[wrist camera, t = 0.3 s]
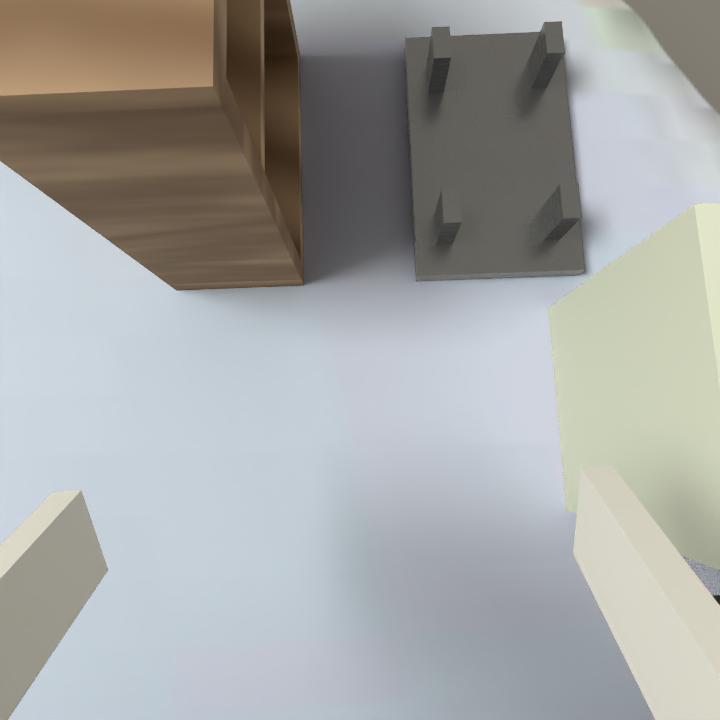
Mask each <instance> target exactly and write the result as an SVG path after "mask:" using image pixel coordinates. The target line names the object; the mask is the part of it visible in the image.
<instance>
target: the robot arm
mask: <svg viewBox="0 0 720 720" xmlns="http://www.w3.org/2000/svg"><path fill="white" fill-rule="evenodd" d="M573 555H574V557H575V559H576V561H577V563H578V565H579V567H580V569H581V571H582V573H583V575H584V577H585V579H586V581H587V583H588V585H589V587H590V589H591V591H592V593H593V595H594V597H595V599H596V601H597V603H598V605H599V607H600V609H601V611H602V613H603V615H604V617H605V619H606V621H607V623H608V625H609V627H610V629H611V631H612V633H613V635H614V637H615V640H616V642H617V644H618V646H619V648H620V650H621V652H622V654H623V656H624V658H625V660H626V662H627V664H628V666H629V668H630V670H631V672H632V674H633V676H634V678H635V680H636V682H637V684H638V686H639V688H640V690H641V692H642V694H643V696H644V698H645V700H646V702H647V704H648V706H649V708H650V710H651V712H652V714H653V716H654V718H655V720H720V595H716V596H712V595H711V594H710V592H709V591H708V590H707V588H706V587H705V586H704V584H703V583H702V582H701V581H700V579H699V578H698V577H697V575H696V574H695V573H694V571H693V570H692V569H691V568H690V566H689V565H688V564H687V562H686V561H685V560H684V558H683V557H682V556H681V555H680V553H679V552H678V551H677V549H676V548H675V547H674V545H673V544H672V543H671V542H670V540H669V539H668V538H667V536H666V535H665V534H664V532H663V531H662V530H661V529H660V527H659V526H658V525H657V523H656V522H655V521H654V519H653V518H652V517H651V516H650V514H649V513H648V512H647V510H646V509H645V508H644V506H643V505H642V504H641V502H640V501H639V500H638V499H637V497H636V496H635V495H634V493H633V492H632V491H631V489H630V488H629V487H628V486H627V484H626V483H625V482H624V480H623V479H622V478H621V476H620V475H619V474H618V473H617V471H616V470H615V469H614V467H613V466H604V467H582V468H581V476H580V486H579V496H578V507H577V517H576V528H575V538H574V549H573ZM107 571H108V568H107V565H106V562H105V559H104V556H103V553H102V550H101V547H100V544H99V541H98V539H97V536H96V533H95V530H94V527H93V524H92V521H91V518H90V515H89V512H88V509H87V506H86V503H85V500H84V497H83V494H82V491H81V490H78V491H56V492H53V493H52V494H51V495H50V496H49V497H48V498H47V499H46V500H45V501H44V502H43V503H42V504H41V505H40V506H39V507H38V508H37V509H36V510H35V511H34V512H33V513H32V514H31V515H30V516H29V517H28V518H27V519H26V520H25V521H24V522H23V523H22V524H21V525H20V526H19V527H18V528H17V529H16V530H15V531H14V532H13V533H12V534H11V535H10V536H9V537H8V538H7V539H6V540H5V541H4V542H3V543H2V544H1V545H0V720H8V719H9V717H10V716H11V714H12V713H13V711H14V710H15V708H16V707H17V705H18V704H19V702H20V701H21V699H22V698H23V696H24V695H25V693H26V692H27V690H28V689H29V687H30V686H31V684H32V683H33V681H34V680H35V678H36V677H37V675H38V674H39V672H40V671H41V669H42V668H43V666H44V665H45V663H46V662H47V660H48V659H49V658H50V656H51V655H52V653H53V652H54V650H55V649H56V647H57V646H58V644H59V643H60V641H61V640H62V638H63V637H64V635H65V634H66V632H67V631H68V629H69V628H70V626H71V625H72V623H73V622H74V620H75V619H76V617H77V616H78V614H79V613H80V611H81V610H82V608H83V607H84V605H85V604H86V602H87V601H88V599H89V598H90V596H91V595H92V593H93V592H94V590H95V589H96V587H97V586H98V584H99V583H100V581H101V580H102V578H103V577H104V575H105V574H106V572H107Z"/></svg>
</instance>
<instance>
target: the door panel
mask: <svg viewBox="0 0 720 720" xmlns="http://www.w3.org/2000/svg"><path fill="white" fill-rule="evenodd" d="M548 312H549V323H550V334H551V345H552V357H553V368H554V379H555V390H556V401H557V412H558V424H559V435H560V446H561V457H562V468H563V479H564V490H565V502H566V510H567V511H570V512H572V513H575V514H577V507H578V496H579V486H580V476H581V468H582V467H604V466H613V467H614V469H615V470H616V471H617V473H618V474H619V475H620V476H621V478H622V479H623V480H624V482H625V483H626V484H627V486H628V487H629V488H630V489H631V491H632V492H633V493H634V495H635V496H636V497H637V499H638V500H639V501H640V502H641V504H642V505H643V506H644V508H645V509H646V510H647V512H648V513H649V514H650V516H651V517H652V518H653V519H654V521H655V522H656V523H657V525H658V526H659V527H660V529H661V530H662V531H663V532H664V534H665V535H666V536H667V538H668V539H669V540H670V542H671V543H672V544H673V545H674V547H675V548H676V549H677V551H678V552H679V553H680V555H681V556H684V557H686V558H689V559H691V560H694V561H697V562H699V563H702V564H704V565H707V566H709V567H712V568H714V569H717V570H719V571H720V203H713V204H694V205H693V206H691V207H690V208H688V209H687V210H686V211H684V212H683V213H681V214H680V215H678V216H677V217H676V218H674V219H673V220H671V221H670V222H669V223H667V224H666V225H664V226H663V227H662V228H660V229H659V230H657V231H656V232H655V233H653V234H652V235H650V236H649V237H647V238H646V239H645V240H643V241H642V242H640V243H639V244H638V245H636V246H635V247H633V248H632V249H631V250H629V251H628V252H626V253H625V254H624V255H622V256H621V257H619V258H618V259H616V260H615V261H614V262H612V263H611V264H609V265H608V266H607V267H605V268H604V269H602V270H601V271H600V272H598V273H597V274H595V275H594V276H593V277H591V278H590V279H588V280H587V281H585V282H584V283H583V284H581V285H580V286H578V287H577V288H576V289H574V290H573V291H571V292H570V293H569V294H567V295H566V296H564V297H563V298H562V299H560V300H559V301H557V302H556V303H554V304H553V305H552V306H550V307H549V308H548Z"/></svg>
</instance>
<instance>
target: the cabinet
mask: <svg viewBox="0 0 720 720" xmlns="http://www.w3.org/2000/svg"><path fill="white" fill-rule="evenodd" d="M0 161H1V162H3V163H4V164H5V165H7V166H8V167H9V168H11V169H12V170H13V171H15V172H16V173H18V174H19V175H20V176H22V177H23V178H24V179H26V180H27V181H28V182H30V183H31V184H32V185H34V186H35V187H37V188H38V189H39V190H41V191H42V192H43V193H45V194H46V195H47V196H49V197H50V198H52V199H53V200H54V201H56V202H57V203H58V204H60V205H61V206H62V207H64V208H65V209H66V210H68V211H69V212H71V213H72V214H73V215H75V216H76V217H77V218H79V219H80V220H81V221H83V222H84V223H86V224H87V225H88V226H90V227H91V228H92V229H94V230H95V231H96V232H98V233H99V234H101V235H102V236H103V237H105V238H106V239H107V240H109V241H110V242H111V243H113V244H114V245H115V246H117V247H118V248H120V249H121V250H122V251H124V252H125V253H126V254H128V255H129V256H130V257H132V258H133V259H135V260H136V261H137V262H139V263H140V264H141V265H143V266H144V267H145V268H147V269H148V270H149V271H151V272H152V273H154V274H155V275H156V276H158V277H159V278H160V279H162V280H163V281H164V282H166V283H167V284H169V285H170V286H171V287H173V288H174V289H175V290H193V289H220V288H247V287H273V286H300V285H304V277H303V214H302V151H301V88H300V52H299V47H298V42H297V36H296V31H295V26H294V20H293V15H292V10H291V4H290V0H0Z"/></svg>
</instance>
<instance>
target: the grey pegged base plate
mask: <svg viewBox="0 0 720 720" xmlns="http://www.w3.org/2000/svg"><path fill="white" fill-rule="evenodd" d="M404 51H405V71H406V91H407V111H408V131H409V150H410V170H411V190H412V210H413V230H414V250H415V270H416V281H433V280H460V279H487V278H513V277H540V276H567V275H579V274H580V273H582V272H583V271H584V270H585V264H584V255H583V245H582V235H581V225H580V219H581V218H582V215H581V205H580V196H579V186H578V183H576V176H575V166H574V156H573V147H572V137H571V127H570V117H569V107H568V98H567V88H566V78H565V68H564V58H563V55H564V53H565V49H564V40H563V30H562V21H560V22H544V24H543V26H542V29H541V31H540V32H529V33H507V34H485V35H463V36H450V30H449V27H432V31H431V37H420V38H405V49H404Z"/></svg>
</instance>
